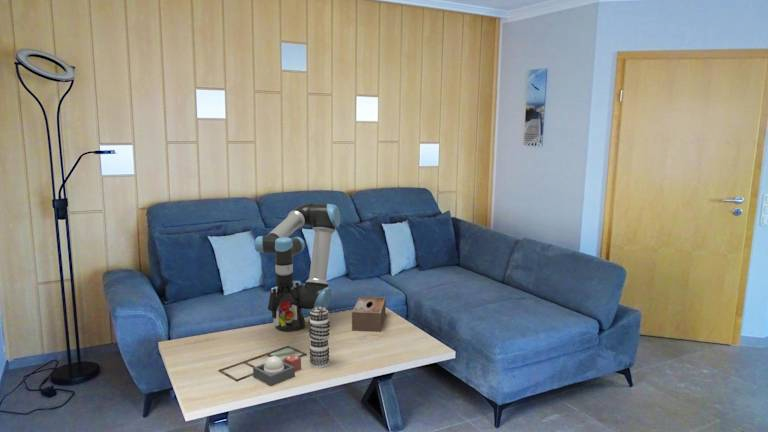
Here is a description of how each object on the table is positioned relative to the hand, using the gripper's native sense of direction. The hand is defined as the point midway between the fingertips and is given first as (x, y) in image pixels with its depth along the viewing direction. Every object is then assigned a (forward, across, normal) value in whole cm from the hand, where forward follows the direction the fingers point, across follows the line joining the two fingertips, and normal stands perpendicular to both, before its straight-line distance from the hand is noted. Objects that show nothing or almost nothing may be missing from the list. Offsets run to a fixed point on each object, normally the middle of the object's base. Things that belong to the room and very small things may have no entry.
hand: (285, 321), depth 245 cm
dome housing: (+15, -14, -14) cm, 25 cm away
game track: (+15, -12, 0) cm, 19 cm away
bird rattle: (+1, 0, 0) cm, 1 cm away
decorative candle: (+16, +4, -18) cm, 24 cm away
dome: (+14, -17, -14) cm, 26 cm away
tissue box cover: (+16, +56, +2) cm, 58 cm away
